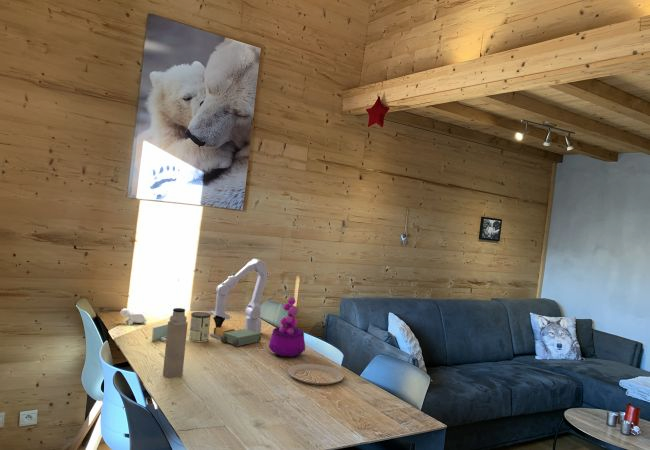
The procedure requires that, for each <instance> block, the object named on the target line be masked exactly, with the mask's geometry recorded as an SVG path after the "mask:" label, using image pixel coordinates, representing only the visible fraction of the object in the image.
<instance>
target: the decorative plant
mask: <svg viewBox="0 0 650 450" xmlns="http://www.w3.org/2000/svg"><path fill="white" fill-rule="evenodd" d="M295 303H296V298H295V297H293V296H291V297H288V300H287V303H284V304H283V309H284V310H285V311H287V312H288V314H287V316H286V317H282V318H281V319H280V324H281V326H280V327H279V326H278V327H275V328H273V329H272V333H271V337H270V338H269V342H268V348H269V349H270V352H272V353H273V354H276V355H278V356H281V357H287V358H288V357H295V356H300V355H301V354H302V353H304V352H305V350H306V341H305V332H304V331H303V330H302V329H299V328H296V326H297V325H298V324H299V322H298V321H299V320H297V319H296V317H295V316H296V315H297V314H298V312H299V311H298V307H297V306H295V305H294V304H295Z"/></svg>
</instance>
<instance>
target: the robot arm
mask: <svg viewBox="0 0 650 450" xmlns="http://www.w3.org/2000/svg"><path fill="white" fill-rule="evenodd" d="M267 266H268V265H267V264H266V262H265V261H264V260H262V259H259V258H252V259H251V260H250V261H248V262H247V264H245V265H244V267H242V268H241V269H240V270H239V271H238V272H236V274H235V275H231V276H230V275H229V276H228V277H227V279H226V280H225V281H222V282H221V284H219V285H217V286H216V288H215V292H216V297H215V299H216V300H215V308H214V310H210V312H209V313H210V314H211V316H213V318H212V319H213V321H214V324H215V328H216V327H222V326H223V323H224V322H225V321H226V320H230V319H231V318H230V317H231V316H230V315H228V314H227V313H226V307H227V297H228V294H229V293H230V291H231V290H232V289H233V288H235V286H237V285H238V284H239V280H241V279H242V278H243V277H245V276H246V275H247V274H248V273H251V272H255V273H256V274H257V279H256V282H255V286H254V289H253V292H252V297H251V301H249V303H248V305H247V306H246V307H245V309H244V312H245V315H246V316H245V323H244V324H245V325H244V329H247V330H250V331H253V332H256V333H260V335H261V334H262V319H261V318H260V317H261V304H260V303H261V300H262V296H263V293H264V291H265V290H264V289H265V286H266V282H267V280H268V279H267V278H268V273H269V272H268V269H267Z"/></svg>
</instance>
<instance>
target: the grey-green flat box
mask: <svg viewBox="0 0 650 450" xmlns="http://www.w3.org/2000/svg"><path fill="white" fill-rule="evenodd" d="M209 336H210V337H212V338H214V337H215V339H217V338H218V340H220V339H221V340H220V342H221V343H222V344H224V343H228V344H231V345H232V346H233V347H234V348H235V347H236V348H237V347H239V346H243V345H244V346H245V345H248V344H253V343H258V342H261V340H262V337H261V334H260V333H256V332H253V331H250V330H247V329H245V328H243V329H242V328H241V329H235V331H229V332H224V333H223V336H222V337H220V336H217V335H214V333H209Z"/></svg>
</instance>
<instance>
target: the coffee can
mask: <svg viewBox="0 0 650 450" xmlns="http://www.w3.org/2000/svg"><path fill="white" fill-rule="evenodd" d="M211 316H212V315H211V314H210V312H205V311H194V312H191V313H190V326H189V336H188V337H189V338H188V340H189V341H190V342H192V343H193V342H194V343H205V342H207V341H209V336H210V333H209V332H210V326H211V325H210V324H211Z"/></svg>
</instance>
